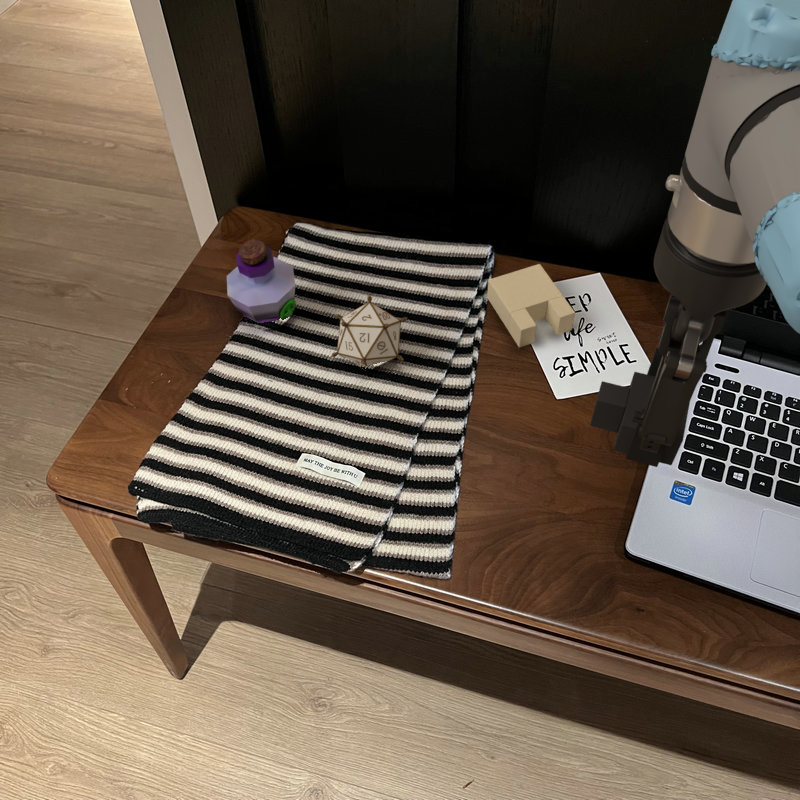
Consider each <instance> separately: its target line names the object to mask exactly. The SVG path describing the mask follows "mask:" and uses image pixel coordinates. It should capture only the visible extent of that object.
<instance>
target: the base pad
mask: <svg viewBox="0 0 800 800" xmlns="http://www.w3.org/2000/svg"><path fill="white" fill-rule="evenodd" d="M486 294H487V295H486V298H487V299H488V301H489V302H490V304H491V306H492V307H493V309H494V310H495V312H496V314H497V315H498V317H499V319H500V321H502V323H503V325H504V326H505V328H506V329H507V331H508V333H509V334H510V335H511V337H512V339H513V340H514V342H515V344H516V345H517V347H518V348H523V347H525V346H528V345H531V344H534V343H535V341H536V340H535V339H536V332H537V327H538V325H537V323H536V322H539V321H540V320H543V319H545V320H546V321H547V323H548V325H549V326H550V327H551V329H552V330H553V331H554V333H555V334H556V335H557V336H559V335H561V334H565V333H567V332H568V333H569V332H570V331H573V327H574V326H573V325H574V320H575V316H576V311H575V310H574V309H573V307H572V305H570V303H569V302H568V301H567V299H566V298H565V297H564V295H563V294H562V292H561V291H560V290H559V288H558V287H557V285H556V284H555V283H554V281H553V279H552V278H551V277H550V275H549V274H548V273H547V271H545V268H544V267H543V266H542V265H541V264H540V263H536V264H535V265H531V266H528V267H525V268H522V269H519V270H515V271H512V272H509V273H506V274H502V275H499V276H496V277H493V278H490V279H488V280H487V293H486Z"/></svg>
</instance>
